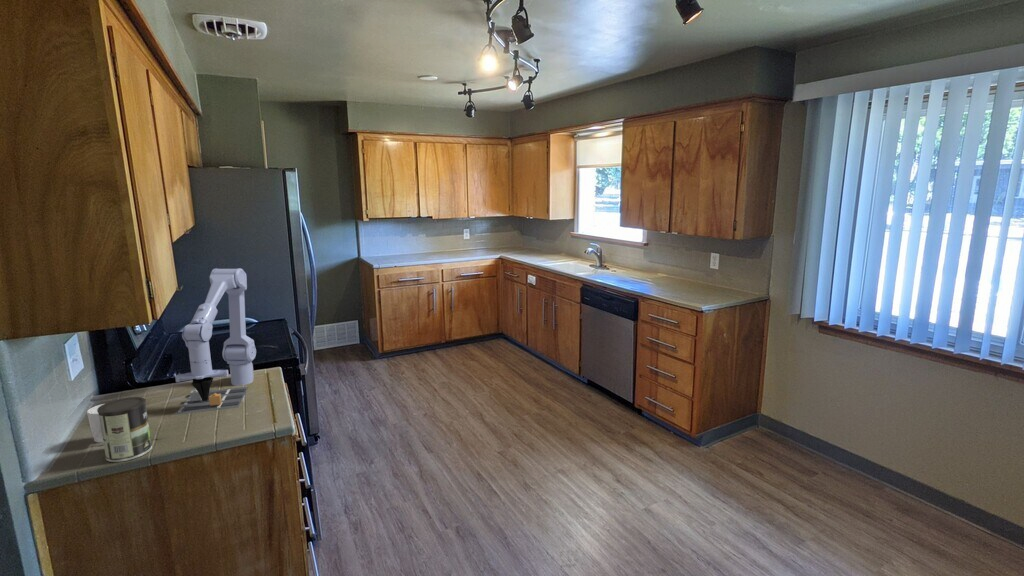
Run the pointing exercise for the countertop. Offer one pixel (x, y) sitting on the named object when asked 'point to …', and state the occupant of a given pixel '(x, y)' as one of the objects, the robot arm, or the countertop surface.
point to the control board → (229, 400)
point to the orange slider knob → (215, 399)
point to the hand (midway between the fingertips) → (205, 399)
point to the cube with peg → (195, 395)
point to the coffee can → (125, 429)
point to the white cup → (95, 423)
